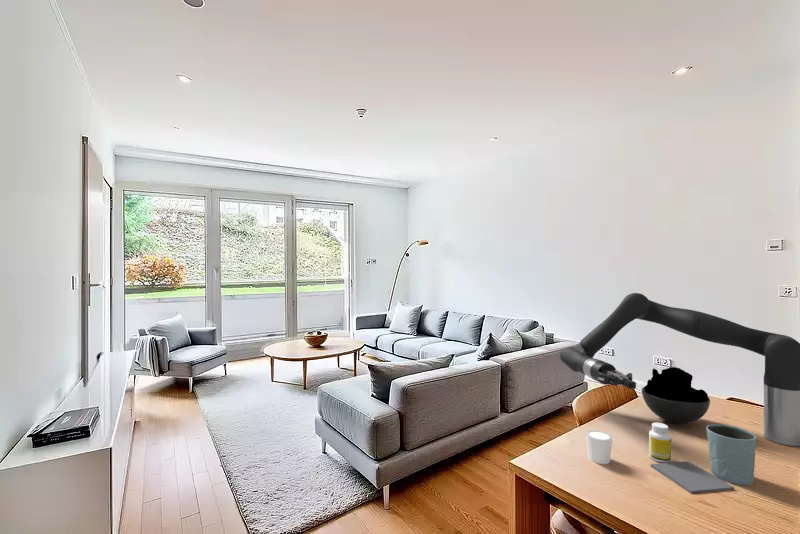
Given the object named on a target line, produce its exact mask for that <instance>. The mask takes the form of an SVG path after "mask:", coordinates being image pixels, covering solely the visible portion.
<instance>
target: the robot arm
mask: <svg viewBox="0 0 800 534" xmlns="http://www.w3.org/2000/svg"><path fill="white" fill-rule="evenodd" d="M634 320H641V321H646V322H650V323H654V324H658V325H662V326H665V327H667V328H669V329H672V330H675V331H676V332H679V333H681V334H684V335H687V336H690V337H693V338H695V339H699V340H702V341H706V342H710V343H714V344H718V345H725V346H731V347H736V348H737V347H738V348H741V349H745V350H748V351H751V352H752V353H755V354H758V355H761V356H762V357H764V373H763V437H764V438H765V439H767V440H769V441H772V442H774V443H777V444H780V445H783V446H790V447H800V342H799V341H798V340H797V339H795V338H793V337H791V336H788V335H785V334H782V333H781V334H780V333H774V332H771V331H770V332H769V331H765V330H760V329H755V328H751V327H748V326H744V325H741V324H739V323H736V322H734V321H731V320H728V319H725V318H722V317H719V316H717V315H712V314H710V313H705V312H703V311H702V312H701V311H698V310H694V309H688V308H681V307H674V306H673V307H672V306H668V305H664V304H662V303H658V302H656V301H653V300H650V299H649V298H648V297H647V296H646V295H644V294H643V293H638V292H632V293H629V294H627V295H626V296H625V297H624V298H623V299H622V301H621V302H620V303H619V305H618V306H617V307H616V308H615V309H614V310H613V312H612V313H611V314H610V315H608V317H606V319H605V320H603V321H602V322H601V323H600V324H598V325H597V326H596V327H595V328H594V329H592V330H591V331H590V332H588V334H586V335H585V336H584V337H583V338H582V339H580V341H579V346H580V347H581V349H583V350H582V351H580V350H579V349H576V348H574V347H571V346H568V347H564V348H563V349H562V350H560V352H559V359H560V360H561V362H562V363H563V364H564V365H566V366H567V367H568V368H569V369H570V370H572V371H573V372H575V373H581V374H583V375H585V376H587V377H588V378H590V379H591V380H594V381H596V382H598V383H600V384H602V385H605V386H608V385H611V386H615V387H616V386H621V387H625V388H628V389H630V390H636V388H637V382H636V381H634V380H633V373H631V372H628V373H627V374H624V373H623V372H621V371H619V370H617V369H616V367H615V366H614V365H613V364H611V363H608V362H606V361H603V360H601V359H598V358H594V356H595V355H596V354H597V353H599V351H601V349H603V348H604V347H605V346H606V345H607V344H608V343H609V342H610V341H611V340H612V339H613V338H614V337H615V336H616V335H617V334H618V333H619V332H620V331H621V330H622V329H623V328H624V327H626V326H627V325H628V324H630V323H631V322H632V321H634Z"/></svg>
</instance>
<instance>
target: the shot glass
mask: <svg viewBox="0 0 800 534" xmlns="http://www.w3.org/2000/svg"><path fill="white" fill-rule="evenodd" d="M585 437H586V447H587V457H588V459H589V460H590V461H591V462H593V463H595V462H596V463H595V464H599V465H607V464H609V463H610V462H611V457H612V456H611V455H612V453H611V452H612V445H613V443H612V442H613V436H612V435H611V434H609V433H607V432H604V431H600V430H588V431H587V432H586V433H585Z"/></svg>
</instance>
